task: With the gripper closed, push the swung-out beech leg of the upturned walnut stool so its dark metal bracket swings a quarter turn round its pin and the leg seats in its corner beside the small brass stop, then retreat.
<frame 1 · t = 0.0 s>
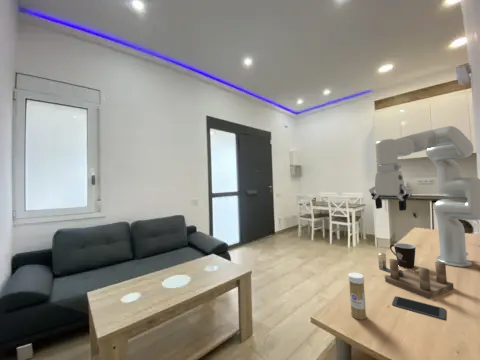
hand: (390, 209, 92), 31 cm above the table, fingers open, 9 cm apart
sprinkles bottle: (358, 316, 72), on the table
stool: (417, 284, 89), on the table
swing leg: (389, 263, 97), point 6 cm above the table, hinge at 90.0°
coffee mug: (404, 265, 110), on the table
cell phone: (418, 309, 74), on the table
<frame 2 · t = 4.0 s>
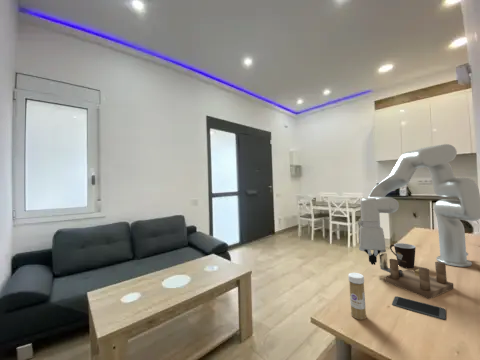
hand: (372, 263, 102), 5 cm above the table, fingers closed
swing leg: (390, 263, 98), point 6 cm above the table, hinge at 84.1°, touching gripper
everything else where it was.
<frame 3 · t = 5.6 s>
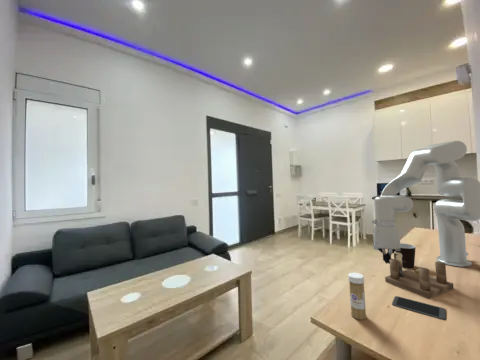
hand: (387, 262, 101), 5 cm above the table, fingers closed
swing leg: (398, 263, 97), point 6 cm above the table, hinge at 35.0°, touching gripper
everything else where it was.
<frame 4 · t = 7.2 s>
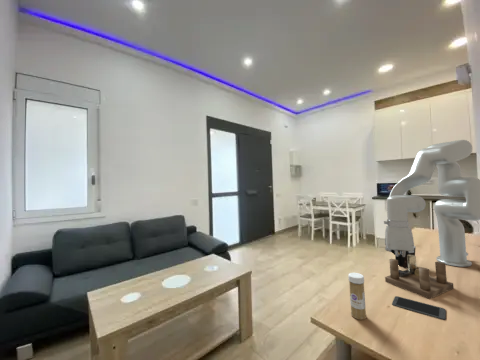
hand: (400, 264, 98), 5 cm above the table, fingers closed
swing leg: (406, 265, 95), point 6 cm above the table, hinge at -5.4°, touching gripper
everything else where it was.
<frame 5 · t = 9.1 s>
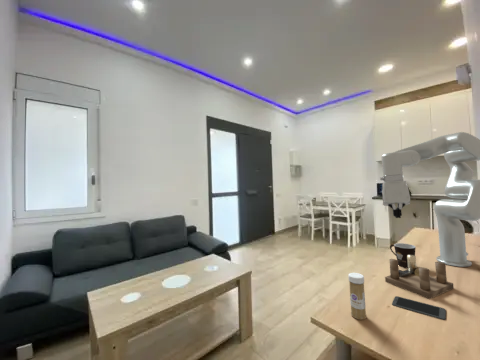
hand: (397, 217, 103), 25 cm above the table, fingers closed
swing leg: (406, 265, 95), point 6 cm above the table, hinge at -5.1°
everything else where it was.
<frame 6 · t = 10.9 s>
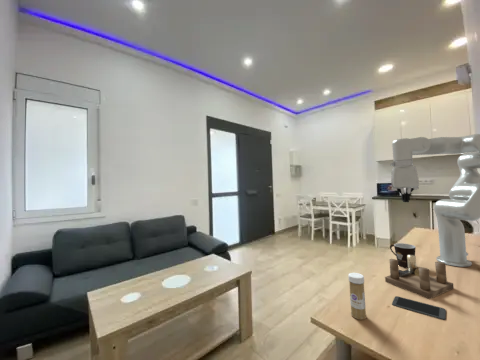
hand: (405, 201, 106), 32 cm above the table, fingers closed
nothing on the table moved.
at the end: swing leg at -5° (first picture: +90°) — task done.
